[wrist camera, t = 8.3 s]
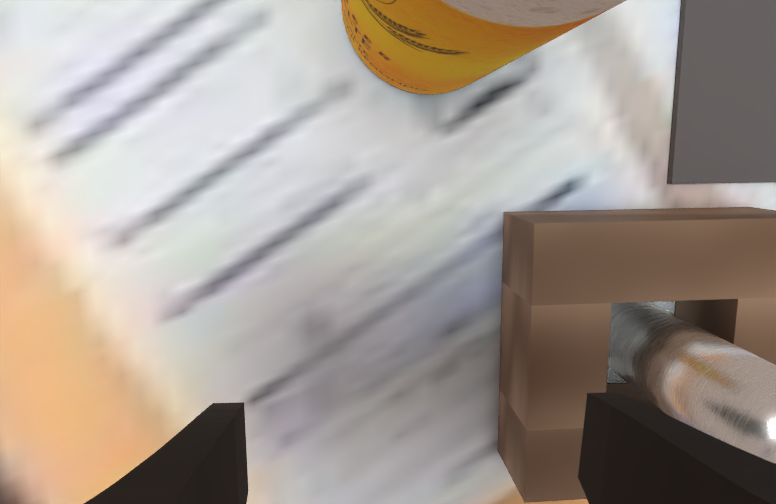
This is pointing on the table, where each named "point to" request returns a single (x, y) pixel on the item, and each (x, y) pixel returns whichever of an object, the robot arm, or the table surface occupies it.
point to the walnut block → (593, 312)
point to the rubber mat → (725, 93)
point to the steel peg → (695, 376)
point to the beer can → (455, 36)
